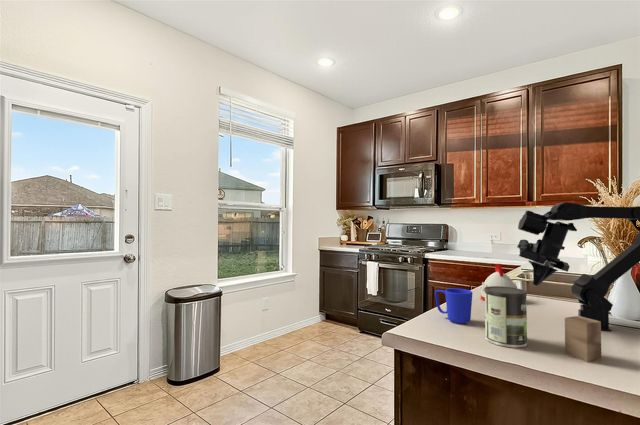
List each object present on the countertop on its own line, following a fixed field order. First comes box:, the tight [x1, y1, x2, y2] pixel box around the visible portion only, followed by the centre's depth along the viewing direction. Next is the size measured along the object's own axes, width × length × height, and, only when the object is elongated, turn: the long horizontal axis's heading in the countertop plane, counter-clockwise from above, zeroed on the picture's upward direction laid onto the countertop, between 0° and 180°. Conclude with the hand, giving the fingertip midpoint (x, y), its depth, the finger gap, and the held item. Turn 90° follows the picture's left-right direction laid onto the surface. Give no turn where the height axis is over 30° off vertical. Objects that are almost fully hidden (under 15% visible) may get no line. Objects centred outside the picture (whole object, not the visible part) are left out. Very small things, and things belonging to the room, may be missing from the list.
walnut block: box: [564, 315, 602, 363], centre depth 80 cm, size 5×5×9 cm
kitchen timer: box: [480, 263, 518, 302], centre depth 136 cm, size 14×14×15 cm
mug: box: [434, 287, 473, 325], centre depth 109 cm, size 8×12×10 cm
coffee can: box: [484, 286, 528, 349], centre depth 91 cm, size 10×10×14 cm
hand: (535, 285), depth 107 cm, fingers closed
